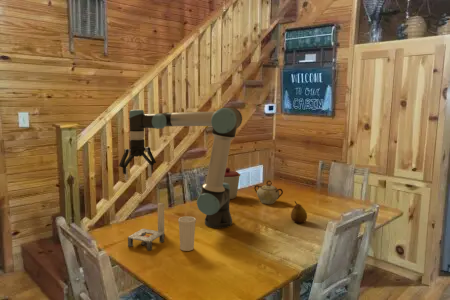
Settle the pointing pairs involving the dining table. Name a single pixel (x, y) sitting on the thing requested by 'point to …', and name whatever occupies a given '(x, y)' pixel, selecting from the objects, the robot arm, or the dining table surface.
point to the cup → (187, 232)
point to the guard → (146, 238)
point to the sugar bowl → (268, 193)
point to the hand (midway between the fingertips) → (138, 178)
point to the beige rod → (161, 217)
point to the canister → (232, 181)
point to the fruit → (298, 214)
